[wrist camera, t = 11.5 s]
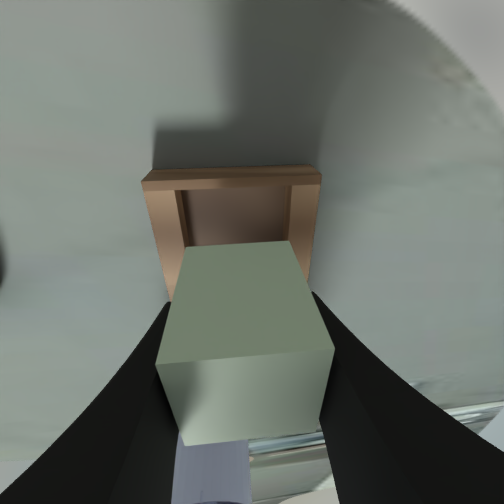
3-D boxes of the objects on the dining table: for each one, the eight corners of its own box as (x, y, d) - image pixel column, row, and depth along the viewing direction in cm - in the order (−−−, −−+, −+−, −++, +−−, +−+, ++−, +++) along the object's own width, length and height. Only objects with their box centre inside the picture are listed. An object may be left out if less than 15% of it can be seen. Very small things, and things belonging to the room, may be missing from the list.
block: (284, 313, 12) (315, 432, 8) (199, 320, 12) (184, 446, 8) (289, 240, 10) (334, 348, 6) (185, 247, 10) (155, 364, 6)
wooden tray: (292, 328, 22) (298, 350, 21) (188, 337, 22) (184, 360, 20) (309, 164, 15) (321, 174, 13) (151, 169, 14) (140, 181, 12)
